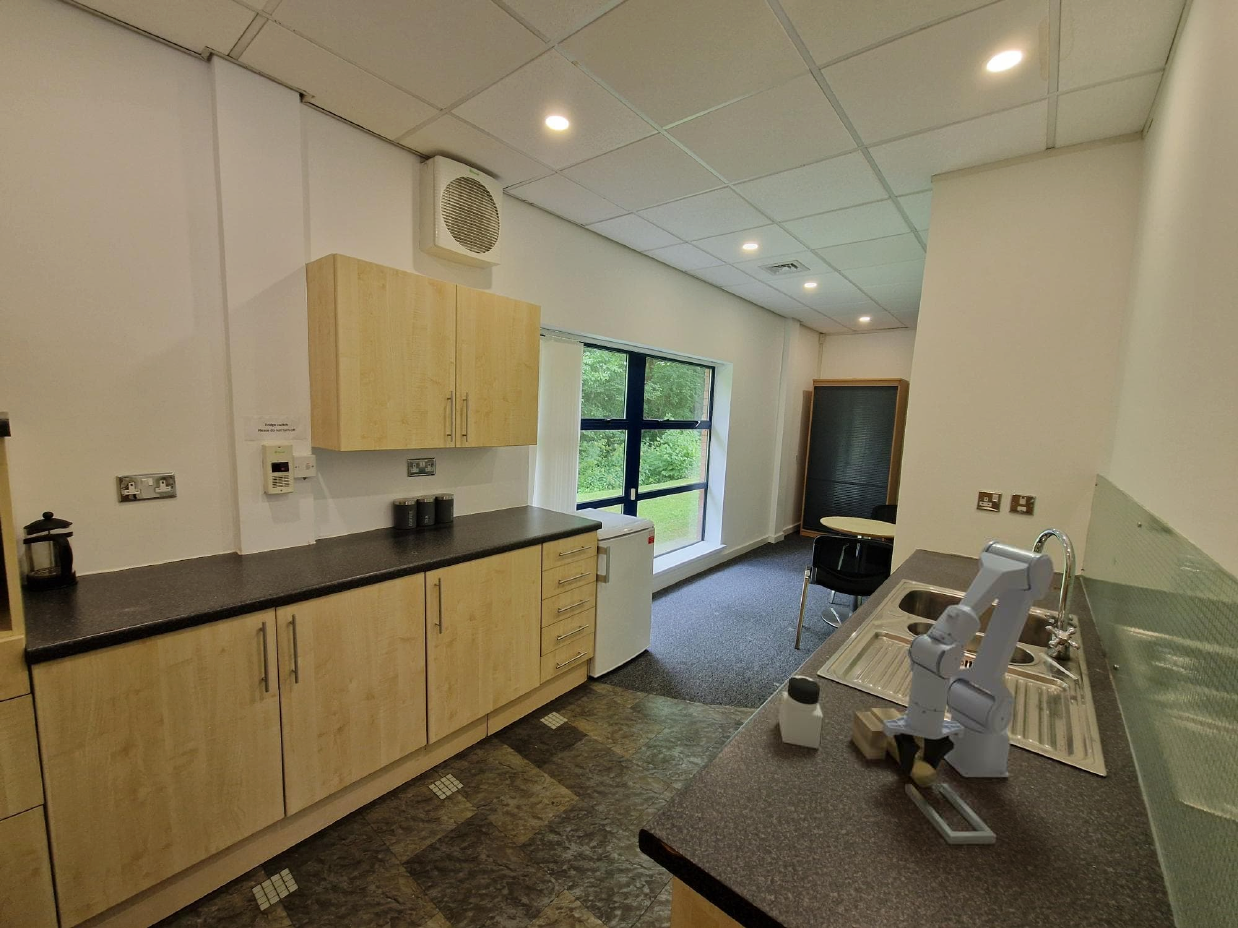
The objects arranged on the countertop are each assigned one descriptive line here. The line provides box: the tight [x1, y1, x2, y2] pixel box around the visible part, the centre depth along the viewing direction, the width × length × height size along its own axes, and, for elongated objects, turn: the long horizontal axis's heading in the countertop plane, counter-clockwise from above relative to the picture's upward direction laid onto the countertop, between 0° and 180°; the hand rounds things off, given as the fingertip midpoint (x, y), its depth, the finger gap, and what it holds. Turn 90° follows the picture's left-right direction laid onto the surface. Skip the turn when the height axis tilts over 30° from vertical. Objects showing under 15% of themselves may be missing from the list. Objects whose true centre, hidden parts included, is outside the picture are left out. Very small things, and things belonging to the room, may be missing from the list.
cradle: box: [904, 783, 997, 845], centre depth 84 cm, size 8×11×1 cm
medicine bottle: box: [778, 675, 824, 750], centre depth 102 cm, size 7×7×12 cm
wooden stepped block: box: [850, 707, 924, 760], centre depth 100 cm, size 12×6×7 cm, turn 95°
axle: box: [886, 737, 938, 788], centre depth 94 cm, size 10×4×4 cm, turn 5°
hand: (916, 769), depth 91 cm, fingers closed on axle, 4 cm apart
